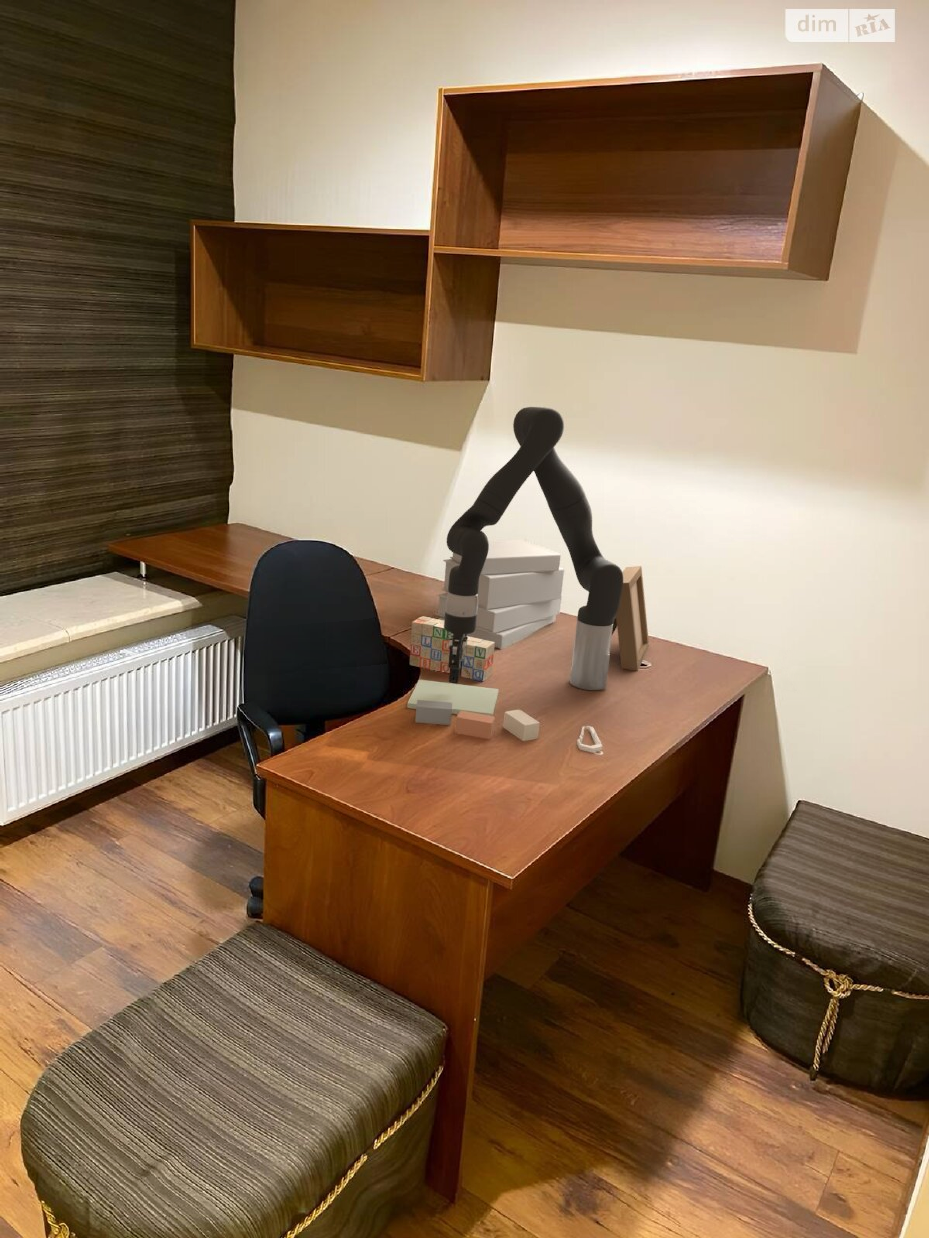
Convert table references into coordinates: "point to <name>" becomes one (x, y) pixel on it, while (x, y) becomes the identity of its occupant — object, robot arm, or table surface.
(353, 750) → the table surface
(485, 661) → the stack of blocks
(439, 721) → the slate brick
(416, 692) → the sage baseplate
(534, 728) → the cream brick
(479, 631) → the book stack
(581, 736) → the white triangle frame
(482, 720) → the terracotta brick
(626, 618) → the photo frame
